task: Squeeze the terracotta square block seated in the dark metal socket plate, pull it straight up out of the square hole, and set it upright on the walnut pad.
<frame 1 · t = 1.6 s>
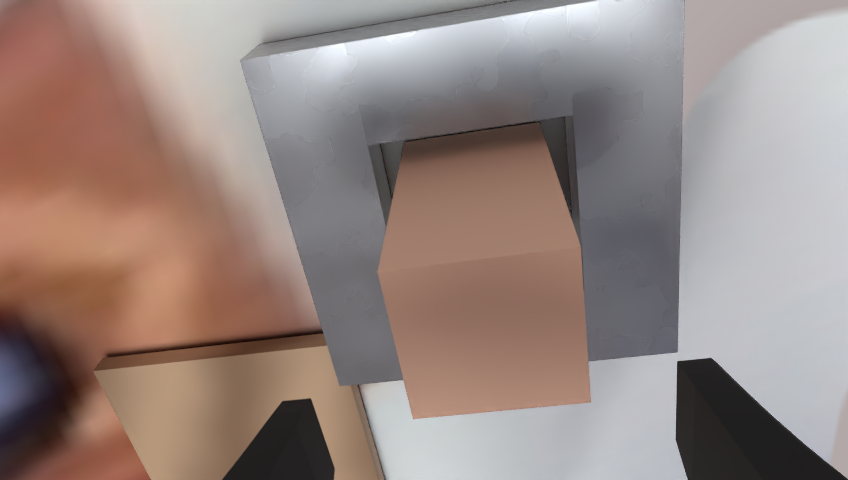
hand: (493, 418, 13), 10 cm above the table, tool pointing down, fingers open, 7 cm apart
walnut pad: (256, 436, 28), on the table
socket plate: (479, 194, 22), on the table
square block: (483, 253, 18), in the socket plate
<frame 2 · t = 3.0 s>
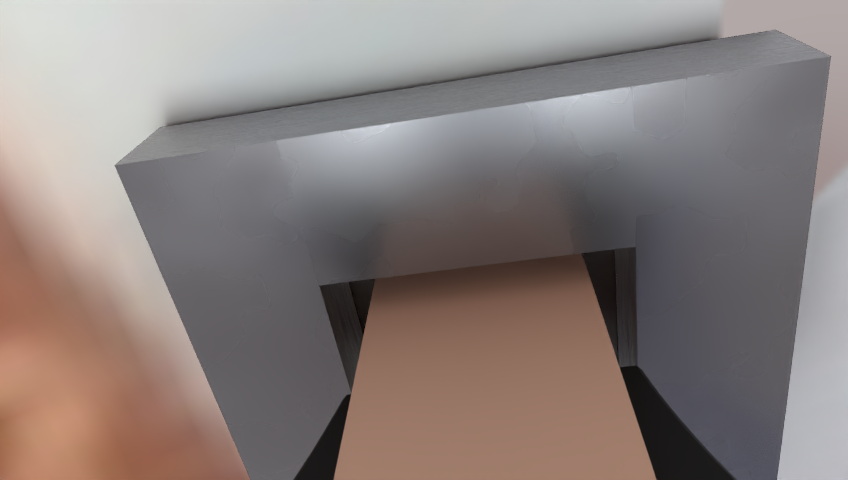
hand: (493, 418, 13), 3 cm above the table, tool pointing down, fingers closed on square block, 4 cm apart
socket plate: (488, 329, 15), on the table
square block: (496, 460, 12), in the socket plate, touching gripper
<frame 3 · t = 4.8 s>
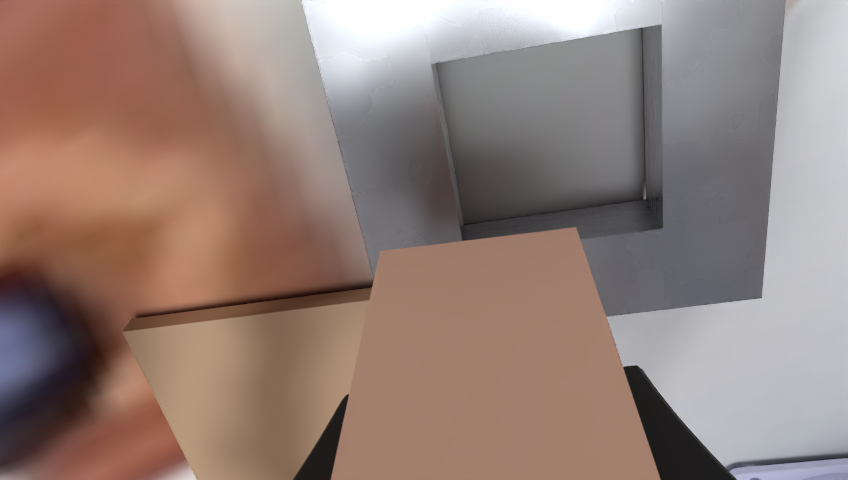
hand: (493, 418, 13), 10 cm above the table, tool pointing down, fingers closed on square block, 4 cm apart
walnut pad: (294, 403, 26), on the table
socket plate: (545, 127, 20), on the table
square block: (496, 446, 12), point 11 cm above the table, touching gripper
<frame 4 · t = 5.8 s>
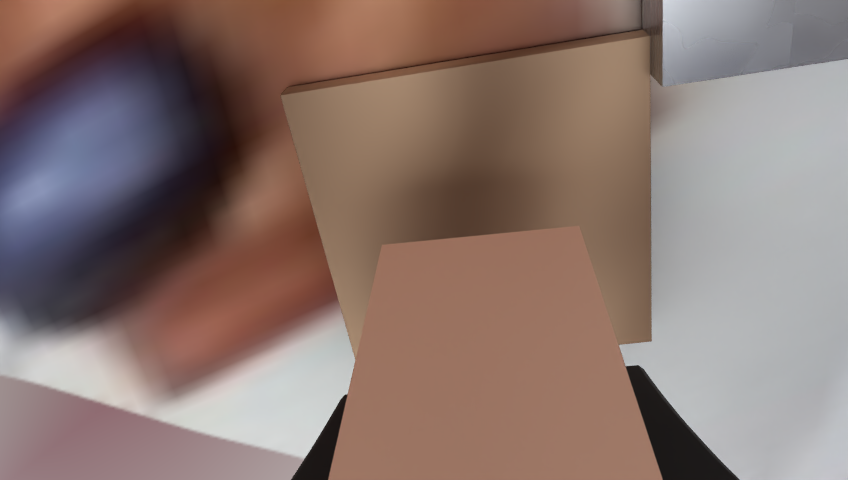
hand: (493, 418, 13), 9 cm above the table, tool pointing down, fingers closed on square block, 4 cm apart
walnut pad: (481, 217, 20), on the table
square block: (494, 442, 12), point 10 cm above the table, touching gripper
when the fingers open (5 cm above the table, at t = 6.8 s): square block drops 1 cm, resting on walnut pad.
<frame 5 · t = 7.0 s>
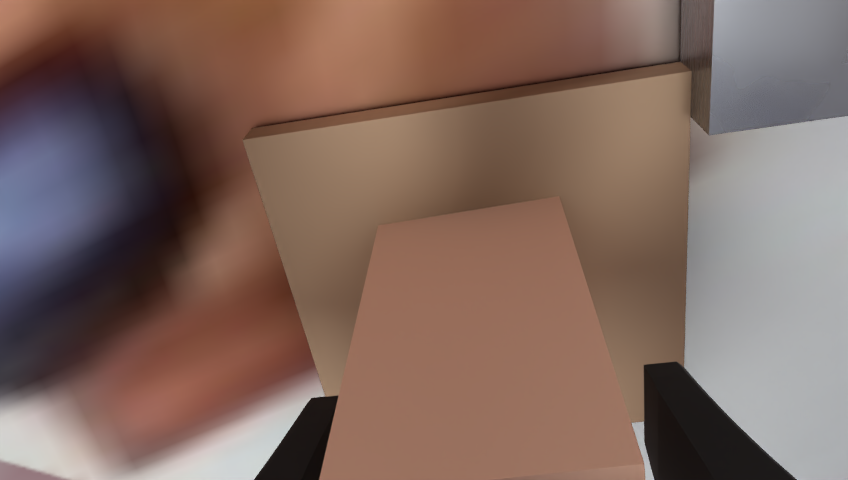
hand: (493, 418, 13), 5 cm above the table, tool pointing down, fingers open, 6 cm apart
walnut pad: (484, 276, 17), on the table
square block: (487, 395, 13), on the walnut pad, point 5 cm above the table
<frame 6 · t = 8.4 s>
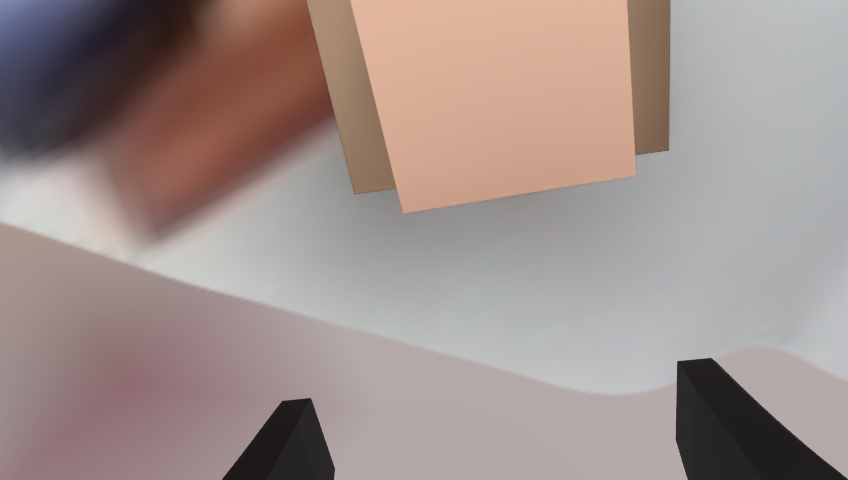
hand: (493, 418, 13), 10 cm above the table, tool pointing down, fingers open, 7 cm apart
walnut pad: (486, 6, 19), on the table
square block: (489, 33, 15), on the walnut pad, point 5 cm above the table
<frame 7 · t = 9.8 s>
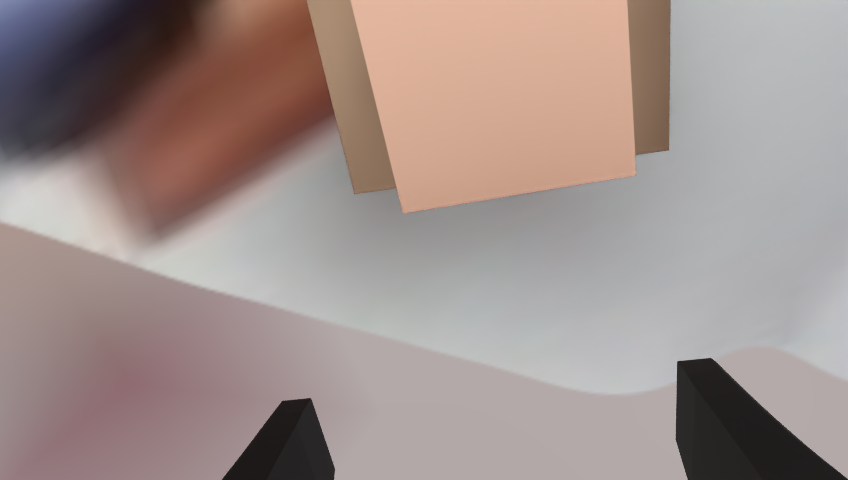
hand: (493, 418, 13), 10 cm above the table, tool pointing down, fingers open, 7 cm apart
walnut pad: (486, 5, 19), on the table
square block: (489, 32, 15), on the walnut pad, point 5 cm above the table
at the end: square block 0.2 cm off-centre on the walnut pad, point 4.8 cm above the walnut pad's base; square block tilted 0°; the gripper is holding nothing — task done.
